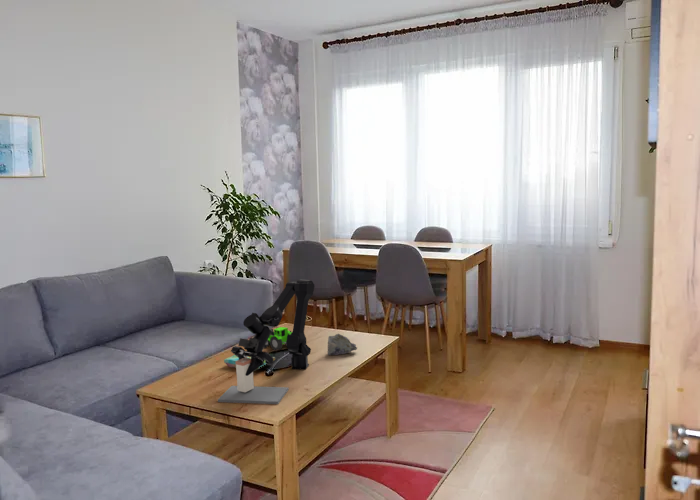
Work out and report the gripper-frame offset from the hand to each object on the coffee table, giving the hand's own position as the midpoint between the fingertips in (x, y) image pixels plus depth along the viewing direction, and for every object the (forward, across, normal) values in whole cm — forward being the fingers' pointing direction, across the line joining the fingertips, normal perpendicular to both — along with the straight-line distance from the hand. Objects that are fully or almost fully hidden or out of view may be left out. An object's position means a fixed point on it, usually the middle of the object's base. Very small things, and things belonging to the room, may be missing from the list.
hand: (242, 374), depth 217 cm
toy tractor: (-32, -30, +45) cm, 63 cm away
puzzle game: (-12, -22, +25) cm, 35 cm away
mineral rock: (-35, +6, +48) cm, 60 cm away
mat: (+5, +4, +7) cm, 9 cm away
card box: (+4, 0, +6) cm, 7 cm away
